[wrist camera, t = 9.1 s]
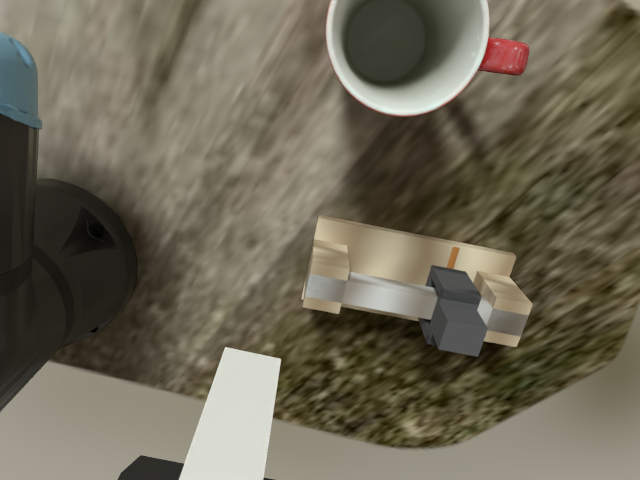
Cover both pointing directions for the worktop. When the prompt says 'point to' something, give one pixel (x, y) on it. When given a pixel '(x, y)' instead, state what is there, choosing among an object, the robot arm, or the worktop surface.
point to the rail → (407, 275)
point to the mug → (414, 51)
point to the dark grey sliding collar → (454, 313)
